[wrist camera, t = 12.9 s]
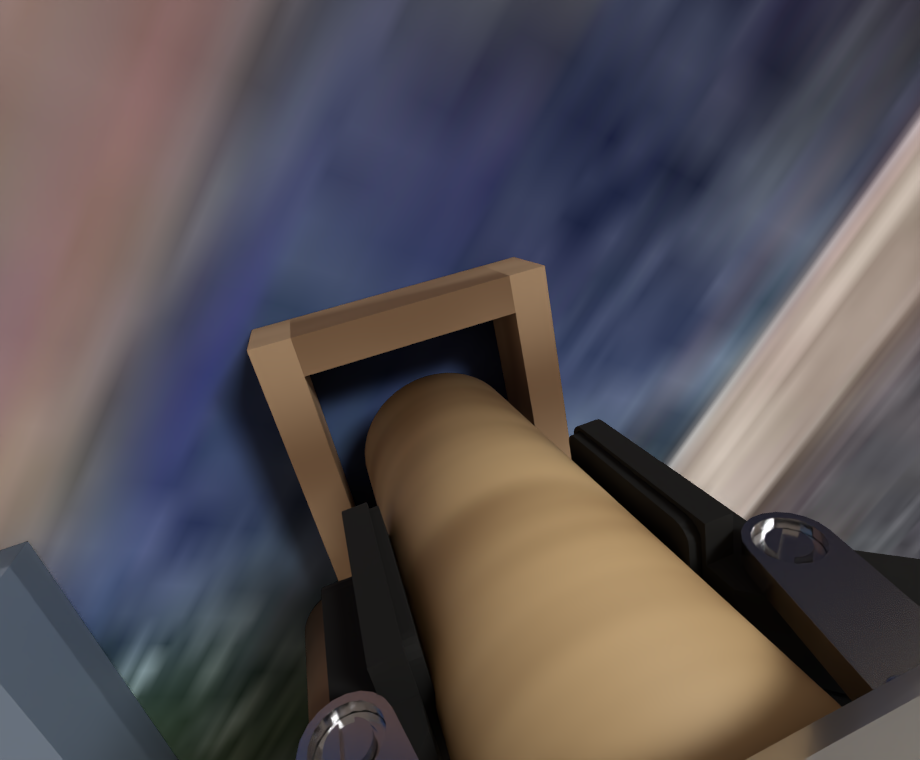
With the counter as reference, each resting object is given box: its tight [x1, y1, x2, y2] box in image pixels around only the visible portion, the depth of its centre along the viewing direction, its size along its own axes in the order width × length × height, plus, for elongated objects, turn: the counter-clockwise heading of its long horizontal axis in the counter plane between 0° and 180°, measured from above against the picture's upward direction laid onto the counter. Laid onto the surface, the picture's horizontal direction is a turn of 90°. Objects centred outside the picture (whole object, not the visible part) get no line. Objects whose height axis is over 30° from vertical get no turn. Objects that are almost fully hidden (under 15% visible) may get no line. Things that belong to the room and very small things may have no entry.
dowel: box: [365, 373, 842, 760], centre depth 9 cm, size 4×4×12 cm
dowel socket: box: [247, 257, 572, 581], centre depth 15 cm, size 8×8×2 cm
